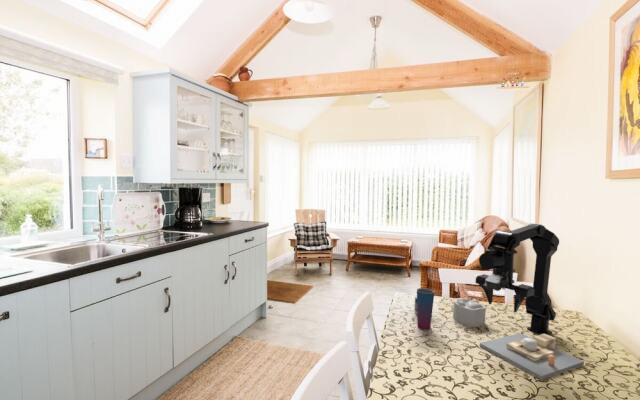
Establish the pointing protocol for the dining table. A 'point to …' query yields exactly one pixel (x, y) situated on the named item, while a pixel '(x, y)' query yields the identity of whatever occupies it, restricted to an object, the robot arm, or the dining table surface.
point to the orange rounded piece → (551, 360)
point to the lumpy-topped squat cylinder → (469, 312)
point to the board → (533, 367)
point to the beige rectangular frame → (543, 347)
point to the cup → (424, 307)
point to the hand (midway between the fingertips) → (502, 307)
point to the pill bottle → (415, 304)
